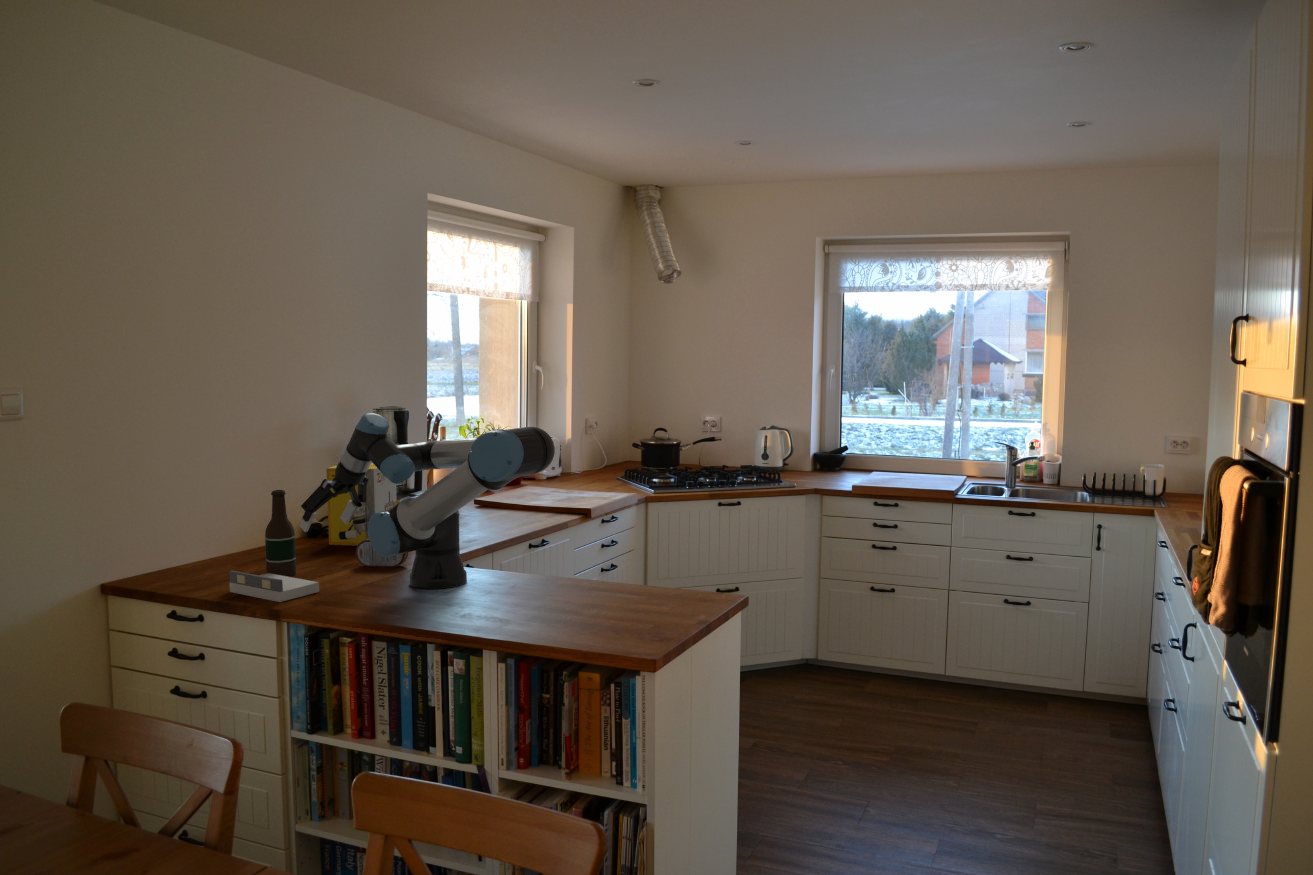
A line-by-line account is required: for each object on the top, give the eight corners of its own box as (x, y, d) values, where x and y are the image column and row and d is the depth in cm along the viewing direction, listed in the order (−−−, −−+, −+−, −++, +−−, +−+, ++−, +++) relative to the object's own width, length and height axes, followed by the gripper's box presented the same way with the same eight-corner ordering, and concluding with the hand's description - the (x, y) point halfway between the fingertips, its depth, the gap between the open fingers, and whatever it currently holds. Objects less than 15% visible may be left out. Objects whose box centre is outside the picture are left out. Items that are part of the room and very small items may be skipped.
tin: (408, 566, 281) (408, 537, 280) (405, 568, 278) (404, 539, 277) (359, 565, 283) (358, 536, 282) (354, 567, 280) (353, 538, 279)
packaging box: (376, 546, 309) (373, 468, 307) (329, 544, 312) (326, 468, 309) (397, 536, 325) (395, 462, 323) (352, 535, 328) (350, 462, 325)
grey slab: (319, 591, 252) (318, 570, 251) (279, 602, 241) (278, 580, 241) (269, 582, 262) (268, 562, 261) (229, 591, 252) (228, 571, 251)
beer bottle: (260, 576, 268) (256, 491, 266) (283, 570, 275) (279, 487, 273) (280, 579, 265) (276, 493, 262) (302, 573, 272) (299, 489, 269)
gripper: (381, 451, 267) (352, 509, 275) (306, 460, 246) (277, 522, 254) (397, 468, 264) (367, 526, 272) (323, 479, 243) (293, 541, 251)
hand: (323, 524), depth 263 cm, fingers open, 13 cm apart
